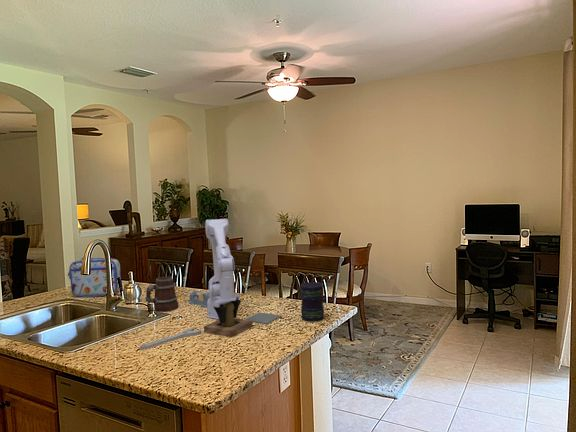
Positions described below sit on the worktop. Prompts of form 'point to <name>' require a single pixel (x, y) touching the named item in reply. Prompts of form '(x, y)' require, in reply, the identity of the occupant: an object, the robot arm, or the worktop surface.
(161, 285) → the mug
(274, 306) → the worktop surface
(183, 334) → the adjustable wrench
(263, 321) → the rubber mat
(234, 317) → the robot arm
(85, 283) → the lunch box
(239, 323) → the walnut holder
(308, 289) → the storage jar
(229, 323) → the olive brown rounded piece
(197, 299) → the vise
